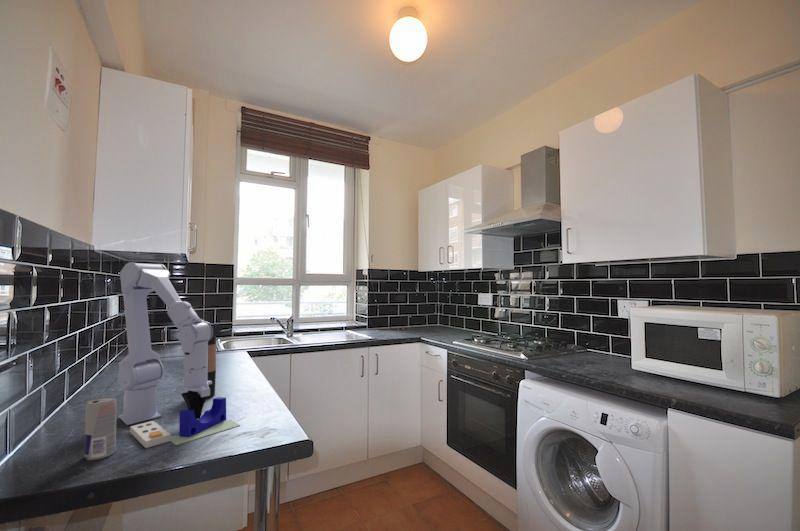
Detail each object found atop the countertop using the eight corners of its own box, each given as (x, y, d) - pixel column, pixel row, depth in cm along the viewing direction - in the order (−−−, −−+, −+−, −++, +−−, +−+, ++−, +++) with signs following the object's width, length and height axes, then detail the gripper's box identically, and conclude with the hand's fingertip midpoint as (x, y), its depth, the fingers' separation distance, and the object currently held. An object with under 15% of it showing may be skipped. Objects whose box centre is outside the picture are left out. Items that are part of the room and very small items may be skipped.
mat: (167, 438, 88) (167, 437, 88) (230, 420, 99) (230, 419, 99) (176, 445, 84) (176, 444, 84) (239, 425, 95) (239, 424, 95)
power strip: (130, 432, 92) (130, 424, 92) (153, 426, 96) (153, 418, 96) (145, 448, 83) (145, 438, 83) (170, 440, 87) (170, 431, 87)
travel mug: (220, 395, 122) (220, 336, 123) (197, 401, 116) (198, 339, 117) (207, 392, 126) (208, 334, 127) (185, 398, 120) (185, 337, 121)
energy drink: (96, 450, 82) (97, 396, 83) (121, 448, 83) (122, 395, 83) (77, 461, 77) (79, 404, 78) (104, 460, 77) (105, 403, 78)
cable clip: (213, 418, 100) (213, 396, 101) (226, 419, 99) (226, 397, 99) (174, 435, 89) (174, 410, 89) (188, 437, 88) (188, 411, 88)
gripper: (222, 368, 95) (222, 420, 94) (201, 361, 105) (200, 408, 104) (193, 373, 90) (192, 429, 89) (173, 365, 99) (173, 416, 99)
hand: (195, 418), depth 96 cm, fingers closed
